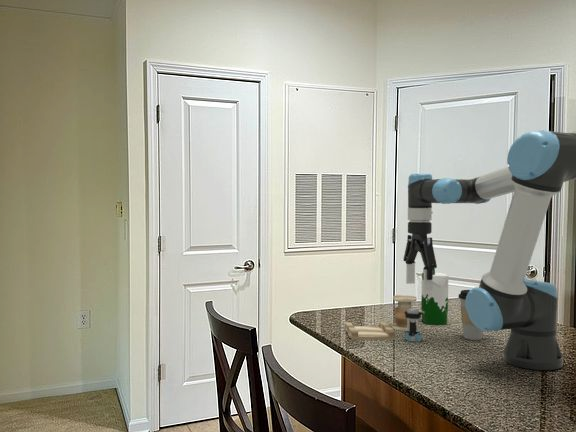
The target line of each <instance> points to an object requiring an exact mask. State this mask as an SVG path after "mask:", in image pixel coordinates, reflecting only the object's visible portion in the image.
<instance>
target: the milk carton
mask: <svg viewBox="0 0 576 432" xmlns="http://www.w3.org/2000/svg"><path fill="white" fill-rule="evenodd" d="M420 298H421V303H420V304H421V305H420V310H421V311H420V312H421V313H422V315H421V321H423V323H424V324H425V325H427V326H428V325H429V326H434V325H436V326H447V323H448V312H449V275H448V274H445V273H444V272H436V268H434V269H433V290H424V267H423V272H421V297H420Z"/></svg>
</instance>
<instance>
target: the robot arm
mask: <svg viewBox="0 0 576 432" xmlns="http://www.w3.org/2000/svg"><path fill="white" fill-rule="evenodd" d="M507 152H508V153H507V159H506V160H507V161H506V164H507V165H508V166H506V167H504V168H503V167H502V168H500V169H497V170H495V171H492V172H489V173H486V174H483V175H482V174H481V175H480V176H478V177H474V178H471V179H465V178H464V179H462V178H461V179H458V178H457V179H455V178H450V177H449V178H448V177H447V178H445V177H444V178H437V179H433V175H432V174H431V173H411V174H409V176H408V184H407V197H408V198H407V205H408V206H407V220H408V222H407V233H408V235H407V240H406V241H407V242H406V246H405V249H404V250H405V251H404V256H403V262H405V264H406V265H405V266H406V270H405V271H406V277H405V280H406V281H405V283H406V285H407V284H409V285H412V284H415V282H416V281H415V280H416V271H415V270H416V262H415V260H416V258H417V256H418V253H419V254H420V257H421V260H422V262H423V268H424V290H433V269H434V268H435V269H437V267H438V266H437V259H436V254H435V251H434V246H433V245H434V244H433V237H428V235H430V234H432V233H433V232H432V229H433V227H432V225H433V224H432V222H431V221H432V220H433V219H432V214H433V209H432V208H433V206H432V205H433V204H443V205H447V204H475V205H479V204H485V203H488V202H490V201H491V199H494V198H497V197H501V196H504V195H508V194H511V193H513V194H512V197H511V201H510V204H509V207H508V211H507V213H506V217H505V220H504V224H503V227H502V231H501V234H500V237H499V240H498V242H497V243H498V244H497V247H496V250H495V254H494V257H493V260H492V263H491V266H490V270H489V271H488V272H486V273H483V274H482V276H481V279H480V282H479V285H478V286H477V287H476V286H475V287H474V288H472V289H469V290H470V291H469V292H468V294H467V296H466V310H467V313H468V315H469V318H470V320H471V321H472V323H473V324H474V325H475V326H476V327H477V328H479V329H481V330H483V332H500V331H505V330H510V333H509V336H508V339H507V342H506V344H505V348H504V350H503V361H504V362H506V363H508V364H509V365H512V366H514V367H518V368H522V369H527V370H528V369H529V370H534V371H535V370H537V371H552V370H553V371H555V370H558V369H561V368H562V367H563V365H564V364H563V363H564V361H563V359H564V358H563V354H562V351H561V349H560V346H559V342H558V339H557V322H558V319H557V315H558V300H559V298H558V288H557V286H556V284H553V283H551V282H546V281H539V280H534V279H533V280H532V279H526V276H527V275H526V274H527V272H528V269H529V266H530V263H531V260H532V256H533V253H534V251H535V249H536V245H537V242H538V239H539V236H540V232H541V230H542V227H543V223H544V221H545V217H546V214H547V211H548V208H549V205H550V202H551V200H552V197H553V196H555V195H558V194H560V192H561V190H562V188H563V185H564V183H565V182H570V181H574V180H576V132H575V133H574V132H561V131H551V130H532V131H527V132H524V133H523V134H522V135H520V136H519V137H517V138H516V139H515V140H514V141H513V143H512V144H511V146H510V148H509V149H508V151H507Z"/></svg>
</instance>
